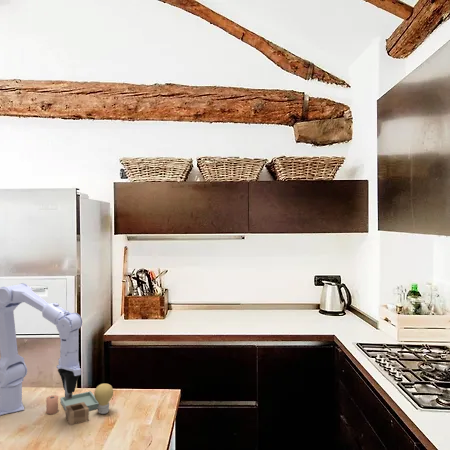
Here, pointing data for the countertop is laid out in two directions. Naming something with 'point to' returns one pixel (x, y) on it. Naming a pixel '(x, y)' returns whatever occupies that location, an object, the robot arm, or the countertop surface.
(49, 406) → the terracotta round
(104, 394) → the light bulb
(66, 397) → the cylinder
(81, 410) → the walnut block
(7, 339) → the robot arm
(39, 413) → the countertop surface
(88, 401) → the tray
